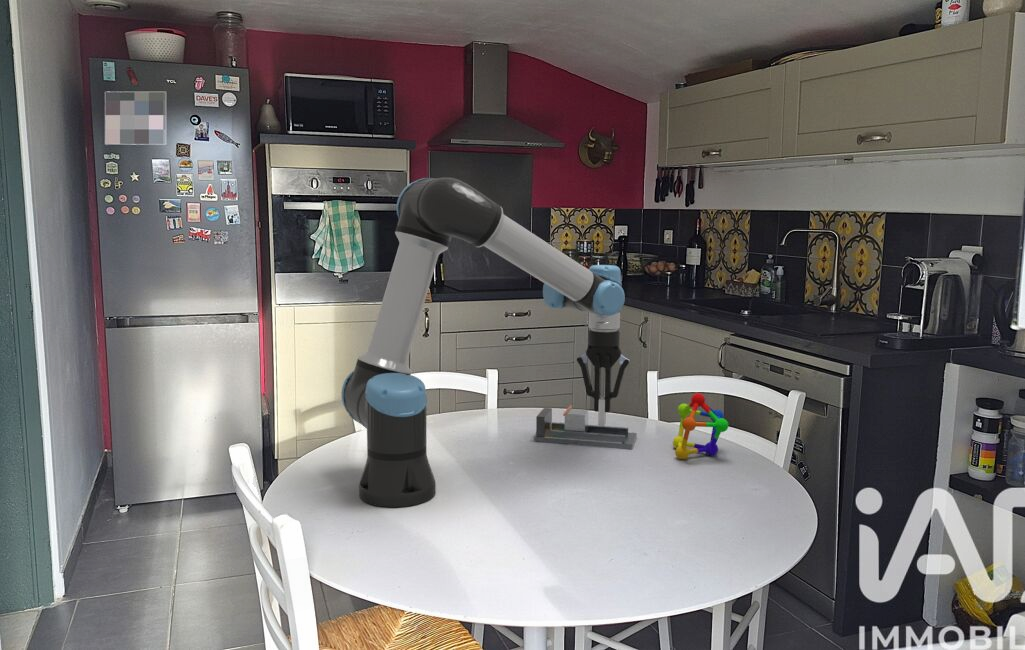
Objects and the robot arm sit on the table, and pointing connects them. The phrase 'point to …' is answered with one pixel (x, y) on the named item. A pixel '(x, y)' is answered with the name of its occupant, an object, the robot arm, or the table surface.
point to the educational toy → (690, 425)
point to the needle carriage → (576, 420)
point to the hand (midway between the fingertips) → (601, 424)
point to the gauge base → (582, 434)
